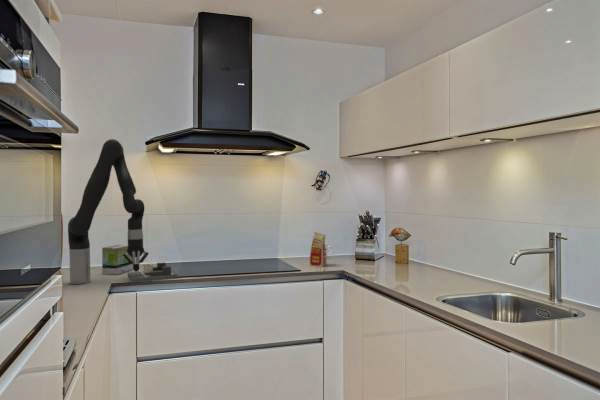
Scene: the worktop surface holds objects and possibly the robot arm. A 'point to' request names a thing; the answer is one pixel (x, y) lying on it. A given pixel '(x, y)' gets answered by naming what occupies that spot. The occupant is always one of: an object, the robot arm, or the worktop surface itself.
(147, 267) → the breaker
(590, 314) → the worktop surface
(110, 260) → the tea box
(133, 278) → the breaker panel
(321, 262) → the red food bag
